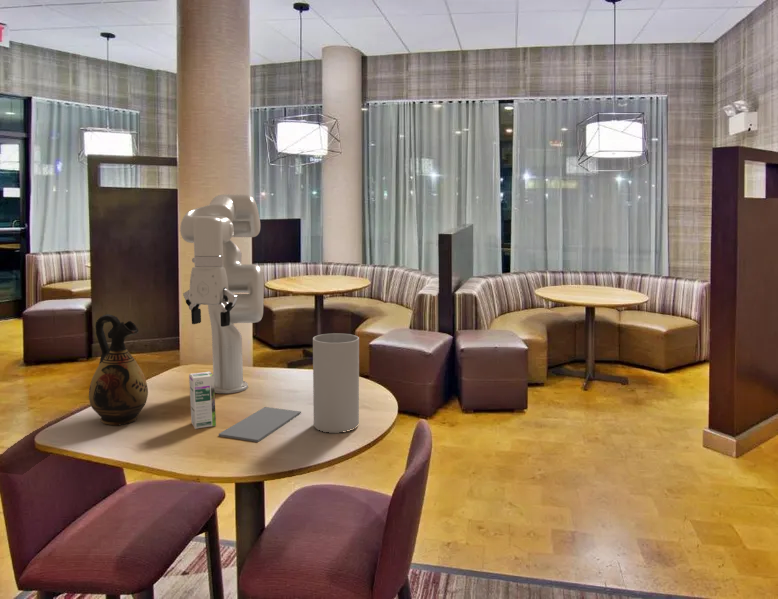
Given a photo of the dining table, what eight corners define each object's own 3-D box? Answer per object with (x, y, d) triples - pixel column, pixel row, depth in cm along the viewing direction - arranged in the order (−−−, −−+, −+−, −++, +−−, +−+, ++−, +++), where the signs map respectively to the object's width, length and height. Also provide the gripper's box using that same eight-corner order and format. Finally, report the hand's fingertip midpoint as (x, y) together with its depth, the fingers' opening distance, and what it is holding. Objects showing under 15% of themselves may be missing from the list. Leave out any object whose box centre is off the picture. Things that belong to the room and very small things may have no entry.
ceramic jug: (160, 413, 185) (155, 312, 180) (128, 431, 170) (122, 322, 165) (108, 408, 188) (102, 309, 184) (73, 426, 173) (65, 319, 169)
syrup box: (194, 429, 172) (192, 377, 170) (190, 422, 177) (188, 372, 175) (216, 426, 174) (214, 375, 172) (211, 419, 180) (209, 370, 177)
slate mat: (218, 436, 167) (218, 433, 167) (265, 408, 190) (265, 406, 189) (258, 442, 163) (258, 439, 163) (301, 413, 186) (301, 411, 186)
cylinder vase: (317, 418, 182) (316, 333, 178) (360, 419, 181) (360, 333, 178) (310, 433, 169) (309, 342, 166) (356, 434, 169) (357, 343, 165)
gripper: (174, 262, 171) (176, 324, 173) (226, 264, 165) (228, 329, 167) (192, 260, 178) (194, 320, 180) (243, 262, 172) (245, 324, 174)
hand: (210, 324), depth 174 cm, fingers open, 9 cm apart
